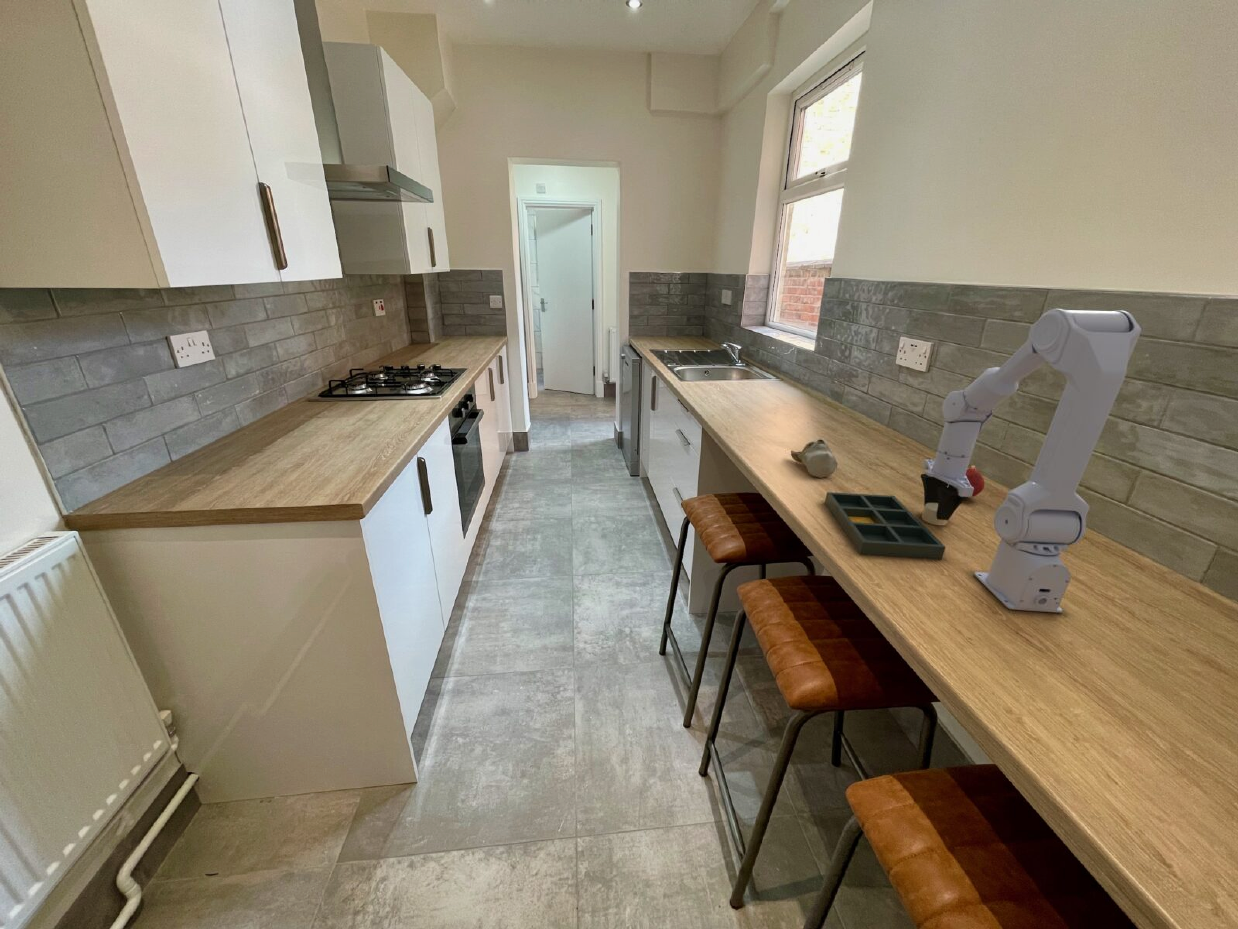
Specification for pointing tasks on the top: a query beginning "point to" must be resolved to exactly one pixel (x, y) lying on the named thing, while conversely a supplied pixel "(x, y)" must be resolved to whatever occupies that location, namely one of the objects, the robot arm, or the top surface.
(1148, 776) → the top surface
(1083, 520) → the robot arm
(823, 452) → the ceramic sculpture
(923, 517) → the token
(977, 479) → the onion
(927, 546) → the grid
